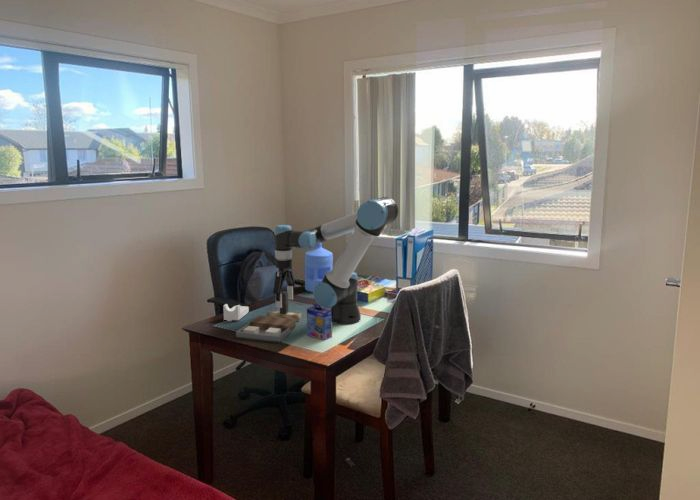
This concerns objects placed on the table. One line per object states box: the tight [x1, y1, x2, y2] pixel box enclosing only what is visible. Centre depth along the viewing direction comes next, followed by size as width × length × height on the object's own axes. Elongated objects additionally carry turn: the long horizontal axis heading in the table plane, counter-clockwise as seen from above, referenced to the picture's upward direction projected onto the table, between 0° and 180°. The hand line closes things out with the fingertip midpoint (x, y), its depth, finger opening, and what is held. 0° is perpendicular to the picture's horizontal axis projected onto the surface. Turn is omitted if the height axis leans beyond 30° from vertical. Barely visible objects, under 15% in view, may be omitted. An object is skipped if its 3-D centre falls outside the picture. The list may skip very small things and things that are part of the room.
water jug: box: [304, 242, 334, 293], centre depth 299 cm, size 16×16×28 cm
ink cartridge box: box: [306, 303, 333, 341], centre depth 228 cm, size 10×6×14 cm, turn 55°
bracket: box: [222, 303, 250, 322], centre depth 253 cm, size 13×7×8 cm, turn 169°
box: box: [235, 323, 291, 344], centre depth 229 cm, size 20×11×2 cm, turn 74°
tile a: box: [265, 328, 281, 336], centre depth 227 cm, size 5×5×2 cm
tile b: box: [243, 326, 259, 334], centre depth 229 cm, size 5×5×2 cm
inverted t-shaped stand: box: [266, 290, 302, 322], centre depth 250 cm, size 16×3×13 cm, turn 75°
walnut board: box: [249, 315, 296, 332], centre depth 238 cm, size 18×9×4 cm, turn 74°
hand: (284, 303), depth 250 cm, fingers open, 13 cm apart
